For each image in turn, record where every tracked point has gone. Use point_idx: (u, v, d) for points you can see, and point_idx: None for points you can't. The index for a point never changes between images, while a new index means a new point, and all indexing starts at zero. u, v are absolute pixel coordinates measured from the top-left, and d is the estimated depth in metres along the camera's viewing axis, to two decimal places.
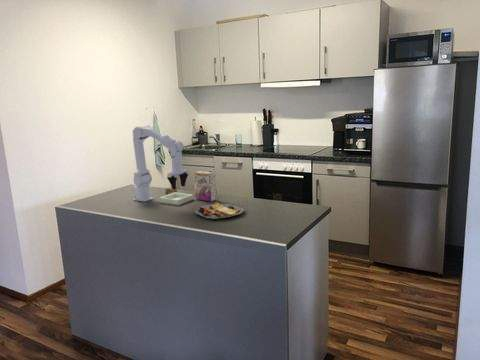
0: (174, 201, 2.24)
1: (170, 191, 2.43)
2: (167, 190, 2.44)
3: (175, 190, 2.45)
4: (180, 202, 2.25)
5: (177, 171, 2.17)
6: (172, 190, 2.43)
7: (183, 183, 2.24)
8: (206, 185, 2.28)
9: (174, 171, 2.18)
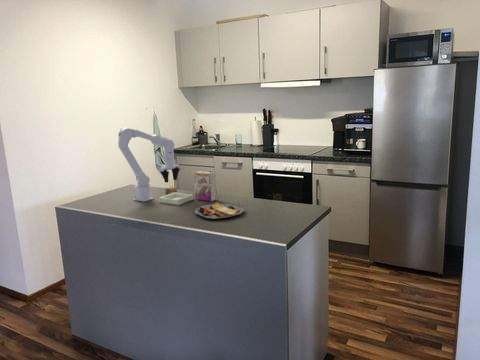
0: (174, 201, 2.24)
1: (170, 191, 2.43)
2: (167, 190, 2.44)
3: (175, 190, 2.45)
4: (180, 202, 2.25)
5: (169, 166, 2.38)
6: (172, 190, 2.43)
7: (175, 176, 2.45)
8: (206, 185, 2.28)
9: (166, 166, 2.39)
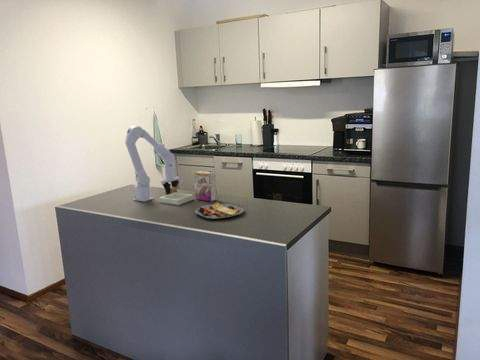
0: (174, 201, 2.24)
1: (170, 191, 2.43)
2: None
3: (175, 190, 2.45)
4: (180, 202, 2.25)
5: (170, 178, 2.41)
6: (172, 190, 2.43)
7: None
8: (206, 185, 2.28)
9: (167, 178, 2.42)
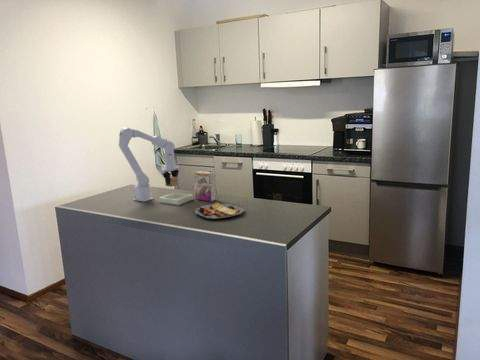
0: (174, 201, 2.24)
1: (170, 181, 2.39)
2: None
3: (175, 180, 2.42)
4: (180, 202, 2.25)
5: (170, 168, 2.38)
6: (172, 180, 2.39)
7: None
8: (206, 185, 2.28)
9: (167, 168, 2.38)
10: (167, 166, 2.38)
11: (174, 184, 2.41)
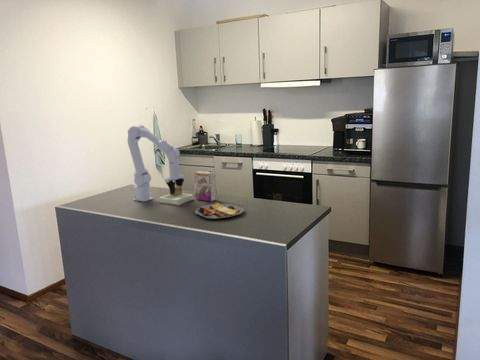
0: (174, 201, 2.24)
1: (175, 190, 2.28)
2: None
3: (180, 189, 2.31)
4: (180, 202, 2.25)
5: (174, 176, 2.27)
6: (177, 189, 2.28)
7: None
8: (206, 185, 2.28)
9: (171, 176, 2.27)
10: (171, 175, 2.27)
11: (179, 193, 2.30)
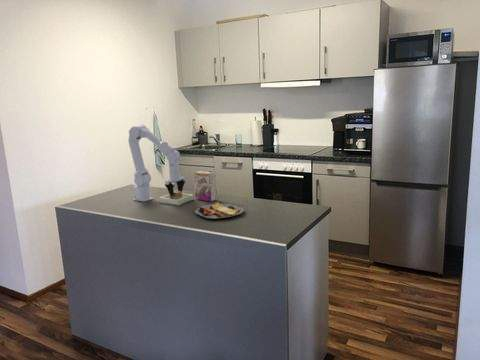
0: (174, 201, 2.24)
1: (175, 195, 2.29)
2: None
3: (180, 194, 2.31)
4: (180, 202, 2.25)
5: (174, 178, 2.27)
6: (177, 194, 2.29)
7: (180, 189, 2.34)
8: (206, 185, 2.28)
9: (172, 178, 2.27)
10: (172, 177, 2.27)
11: None
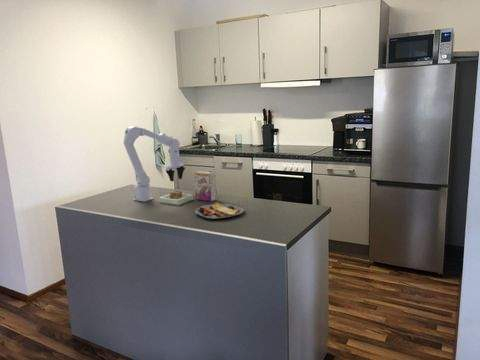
0: (174, 201, 2.24)
1: (175, 195, 2.29)
2: (172, 194, 2.30)
3: (180, 194, 2.31)
4: (180, 202, 2.25)
5: (175, 165, 2.41)
6: (177, 194, 2.29)
7: (180, 175, 2.48)
8: (206, 185, 2.28)
9: (172, 165, 2.41)
10: (172, 163, 2.41)
11: None
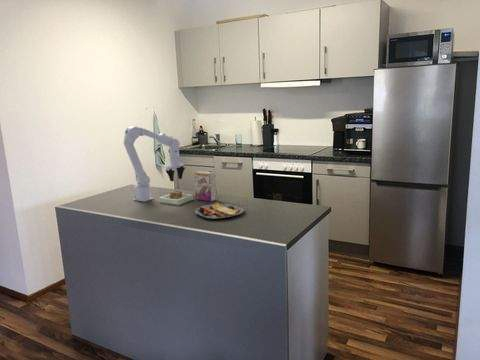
0: (174, 201, 2.24)
1: (175, 195, 2.29)
2: (172, 194, 2.30)
3: (180, 194, 2.31)
4: (180, 202, 2.25)
5: (175, 165, 2.41)
6: (177, 194, 2.29)
7: (180, 175, 2.48)
8: (206, 185, 2.28)
9: (172, 165, 2.41)
10: (172, 163, 2.41)
11: None
